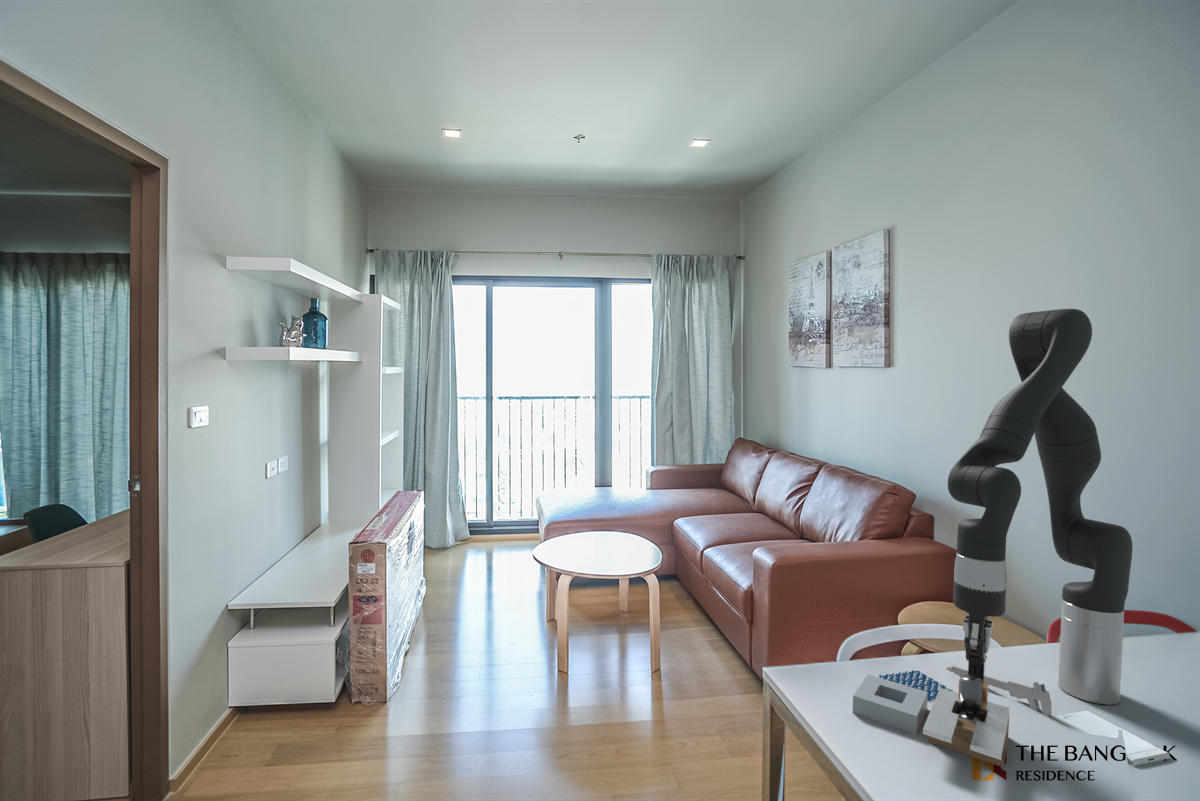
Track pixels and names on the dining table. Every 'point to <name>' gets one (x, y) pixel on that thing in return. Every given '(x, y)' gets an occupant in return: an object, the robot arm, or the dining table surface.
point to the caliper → (1017, 690)
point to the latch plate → (985, 735)
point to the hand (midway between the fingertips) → (975, 681)
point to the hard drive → (1134, 746)
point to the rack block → (890, 703)
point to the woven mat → (917, 682)
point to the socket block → (969, 739)
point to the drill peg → (970, 697)
